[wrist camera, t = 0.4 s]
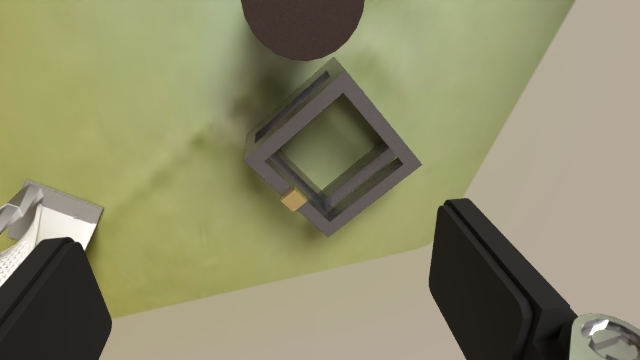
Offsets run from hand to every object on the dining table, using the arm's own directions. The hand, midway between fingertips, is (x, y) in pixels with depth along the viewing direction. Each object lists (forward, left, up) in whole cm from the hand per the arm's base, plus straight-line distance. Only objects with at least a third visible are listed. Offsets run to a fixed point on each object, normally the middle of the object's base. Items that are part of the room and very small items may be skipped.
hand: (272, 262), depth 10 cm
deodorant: (-5, -3, -27) cm, 28 cm away
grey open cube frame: (+1, +9, -27) cm, 28 cm away
